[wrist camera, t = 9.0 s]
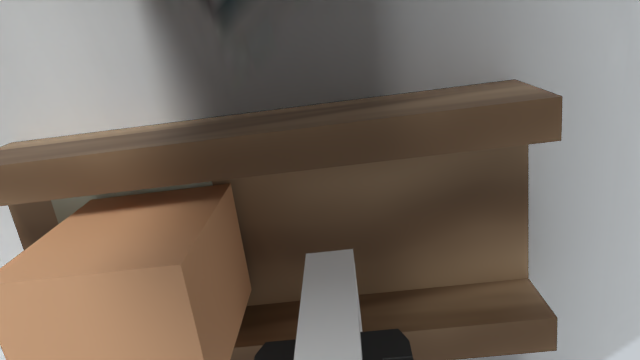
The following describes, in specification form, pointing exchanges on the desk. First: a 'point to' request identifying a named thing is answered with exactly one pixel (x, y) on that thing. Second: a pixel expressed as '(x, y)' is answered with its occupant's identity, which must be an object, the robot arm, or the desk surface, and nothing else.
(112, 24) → the desk surface
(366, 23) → the desk surface
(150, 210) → the block
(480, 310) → the chute
